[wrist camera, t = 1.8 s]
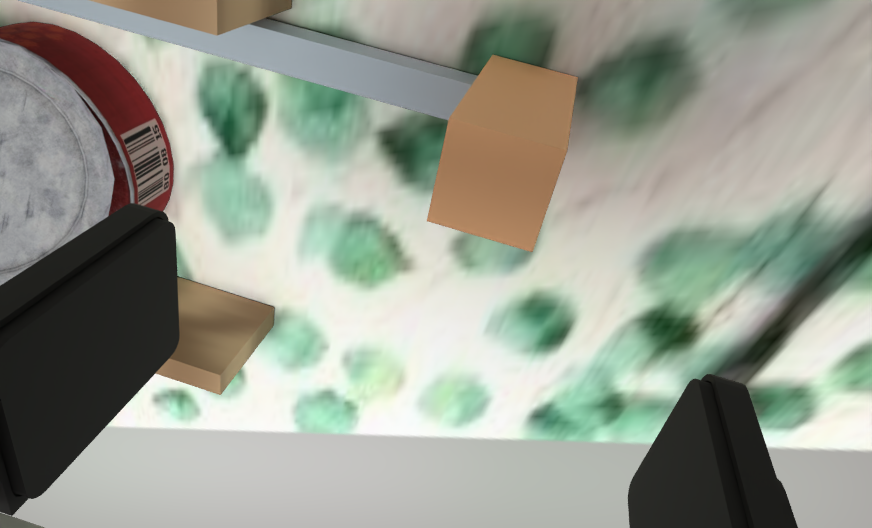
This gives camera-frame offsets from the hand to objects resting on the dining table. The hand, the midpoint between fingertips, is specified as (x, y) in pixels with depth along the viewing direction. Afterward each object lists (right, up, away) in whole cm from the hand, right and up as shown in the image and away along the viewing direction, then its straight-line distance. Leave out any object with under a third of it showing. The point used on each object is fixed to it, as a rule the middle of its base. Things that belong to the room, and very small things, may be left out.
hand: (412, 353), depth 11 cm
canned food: (-16, +7, +17) cm, 24 cm away
